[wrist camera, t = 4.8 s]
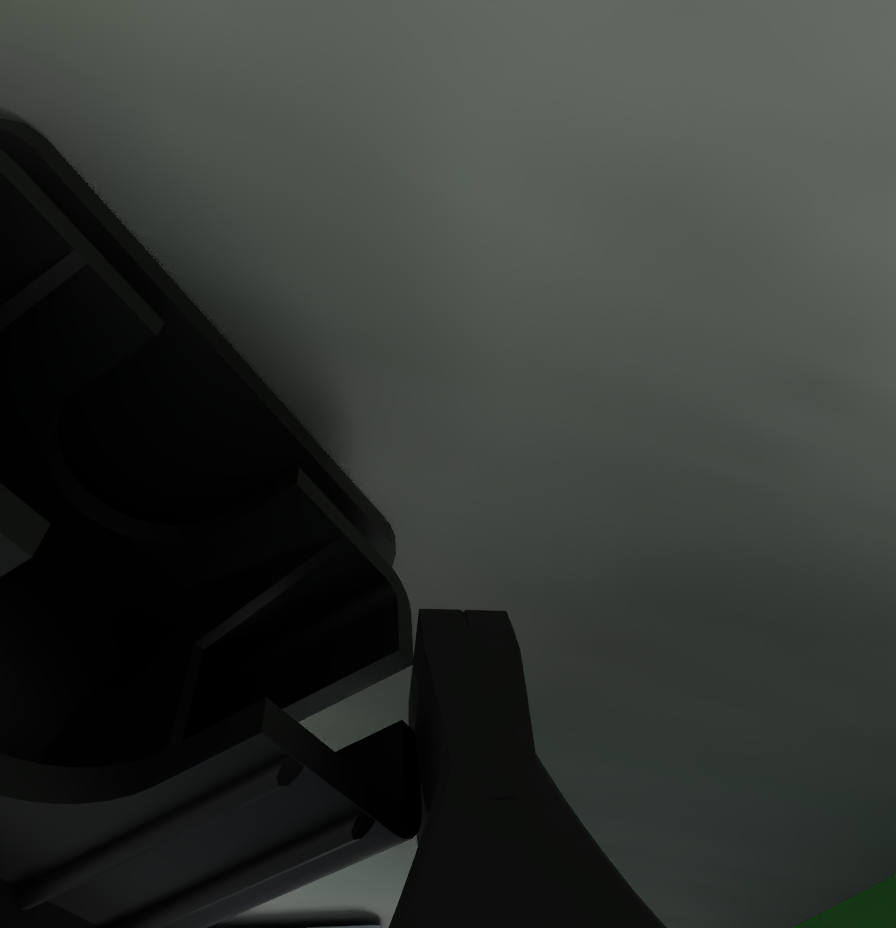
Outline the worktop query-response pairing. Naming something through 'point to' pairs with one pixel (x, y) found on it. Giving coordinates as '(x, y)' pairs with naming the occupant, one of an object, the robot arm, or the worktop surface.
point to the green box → (861, 910)
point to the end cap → (170, 596)
